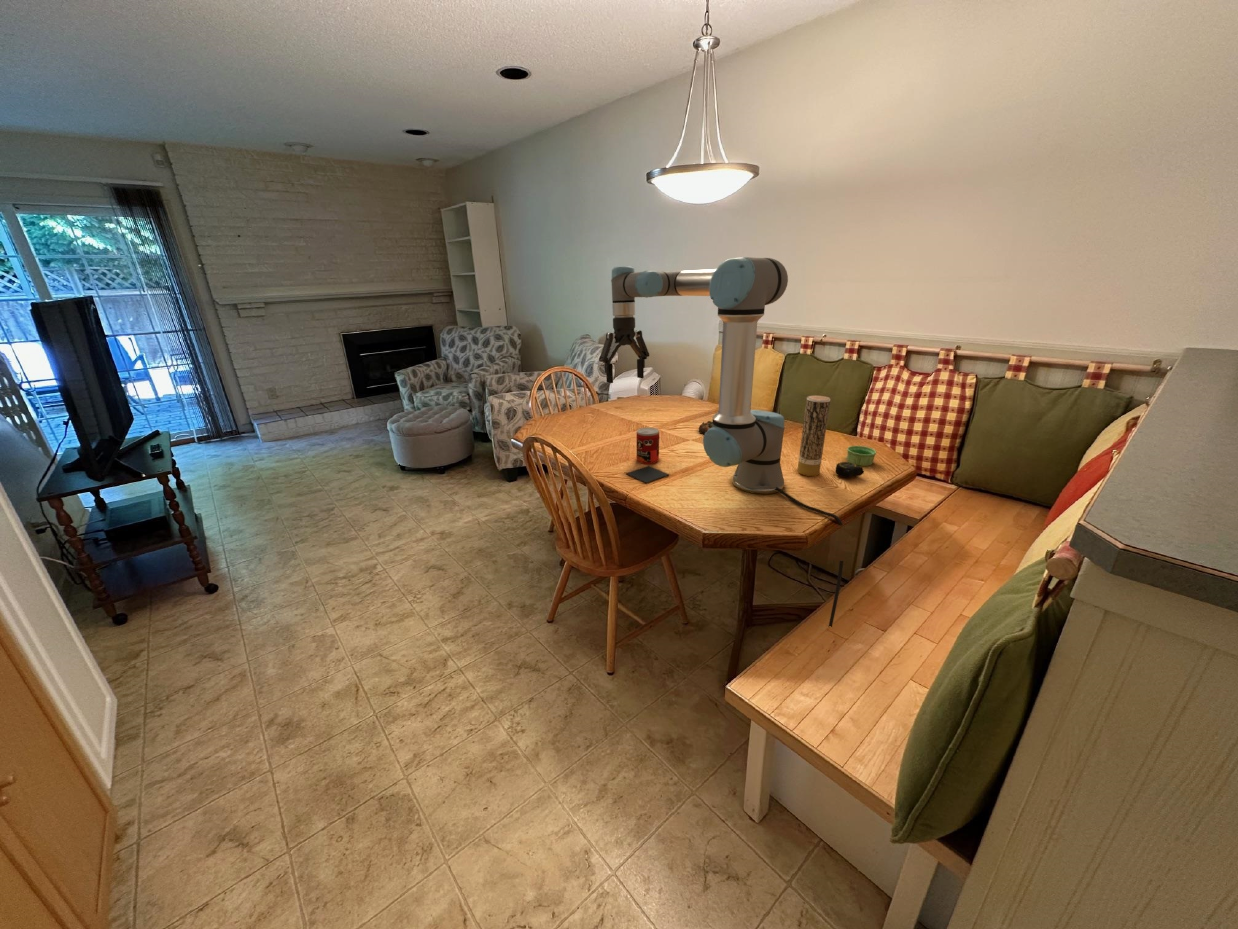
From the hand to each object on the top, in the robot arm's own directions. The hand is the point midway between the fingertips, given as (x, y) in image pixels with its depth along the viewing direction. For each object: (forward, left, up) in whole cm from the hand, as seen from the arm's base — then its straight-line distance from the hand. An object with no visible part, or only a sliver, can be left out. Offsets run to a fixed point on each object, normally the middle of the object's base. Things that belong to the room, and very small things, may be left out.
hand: (625, 380), depth 167 cm
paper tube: (-54, -33, -27) cm, 69 cm away
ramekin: (-60, -55, -27) cm, 86 cm away
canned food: (-11, -1, -27) cm, 29 cm away
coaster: (-21, +8, -27) cm, 35 cm away
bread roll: (-4, -43, -27) cm, 51 cm away
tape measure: (-64, -40, -27) cm, 80 cm away
